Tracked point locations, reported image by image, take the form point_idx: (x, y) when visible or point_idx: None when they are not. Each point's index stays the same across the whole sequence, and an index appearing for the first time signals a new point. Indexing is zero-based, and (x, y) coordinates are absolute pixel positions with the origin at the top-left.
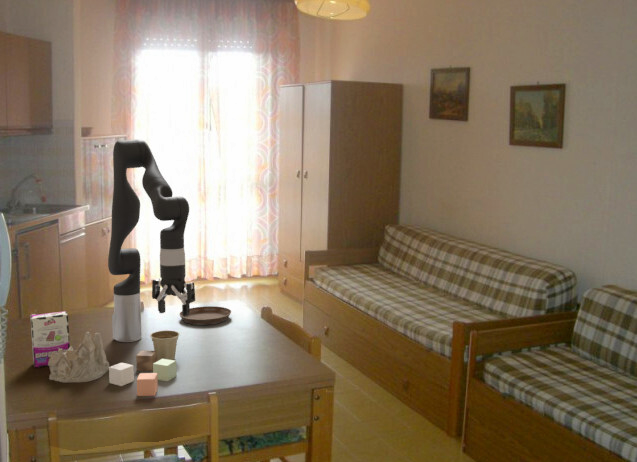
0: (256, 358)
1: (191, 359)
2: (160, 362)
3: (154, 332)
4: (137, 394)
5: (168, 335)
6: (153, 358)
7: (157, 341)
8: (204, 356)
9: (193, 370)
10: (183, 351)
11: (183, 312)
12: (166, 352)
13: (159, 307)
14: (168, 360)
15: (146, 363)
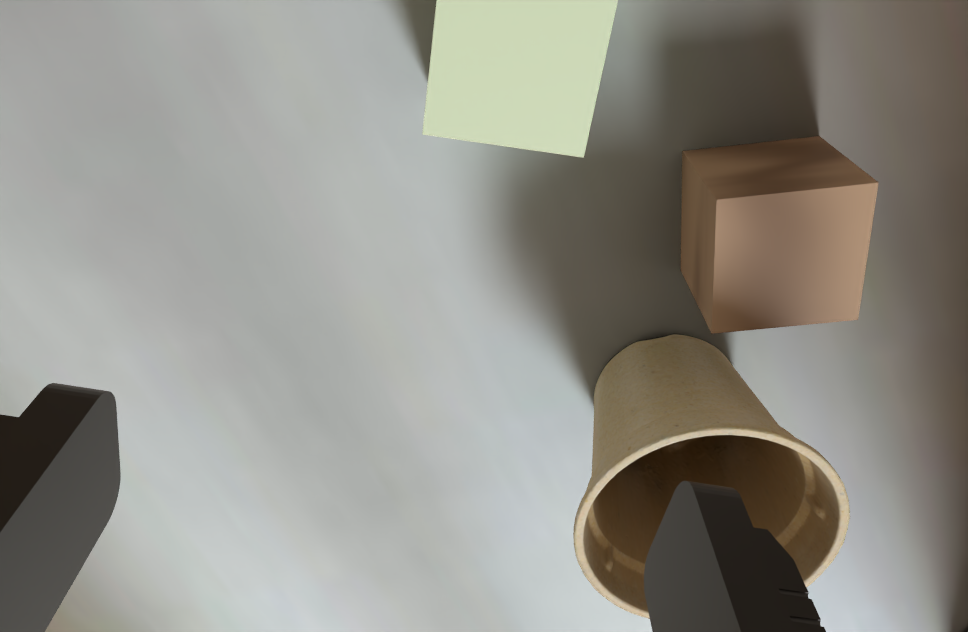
0: None
1: (475, 427)
2: (556, 42)
3: (827, 561)
4: None
5: None
6: (704, 229)
7: (740, 419)
8: (413, 490)
9: (355, 237)
10: None
11: (32, 438)
12: (641, 381)
13: (764, 579)
14: (499, 119)
15: (748, 167)
